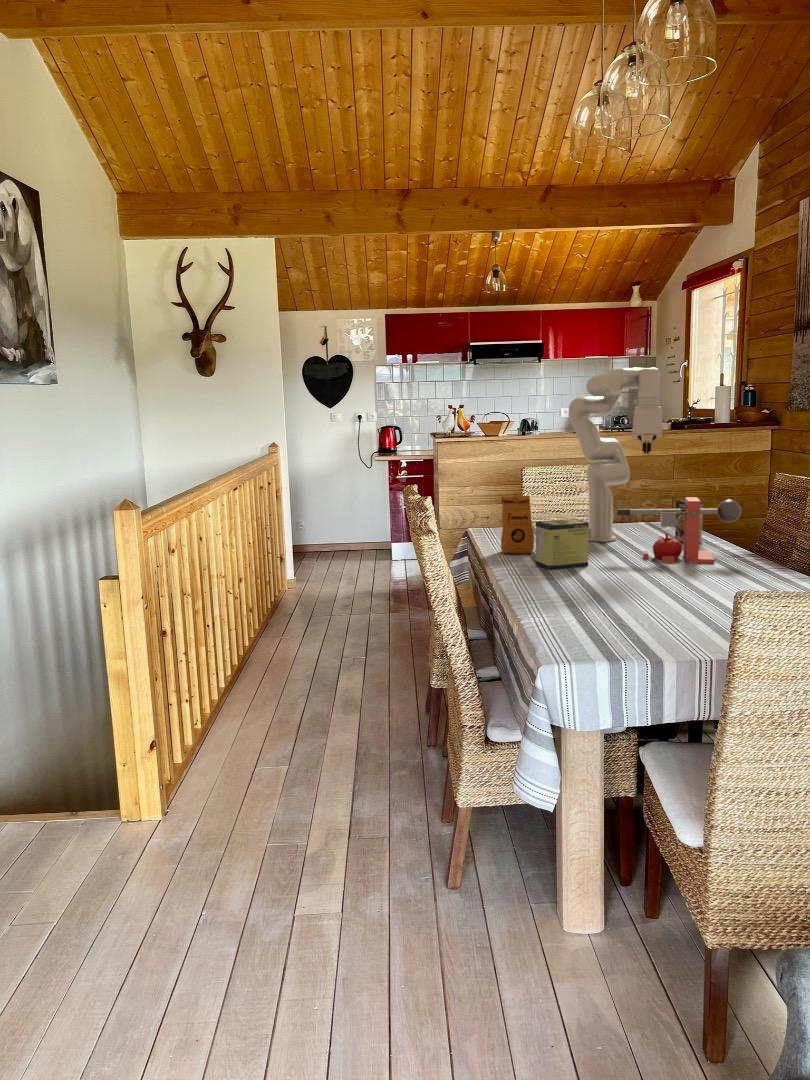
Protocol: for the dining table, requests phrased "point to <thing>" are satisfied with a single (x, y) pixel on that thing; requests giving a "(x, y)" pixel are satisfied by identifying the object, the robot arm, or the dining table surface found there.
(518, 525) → the coffee package
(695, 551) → the press stand
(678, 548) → the pomegranate
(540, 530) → the protein box
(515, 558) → the dining table surface
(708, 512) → the lever
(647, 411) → the robot arm
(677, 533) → the coffee box
